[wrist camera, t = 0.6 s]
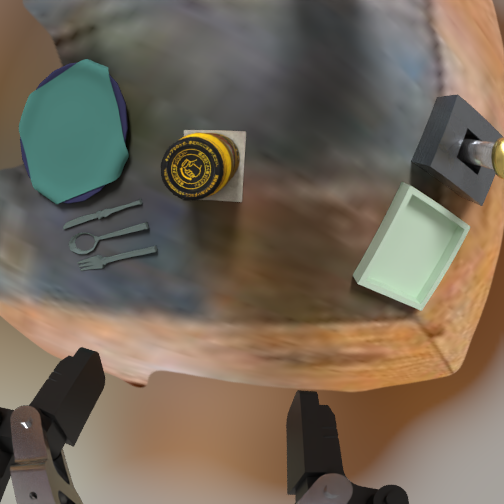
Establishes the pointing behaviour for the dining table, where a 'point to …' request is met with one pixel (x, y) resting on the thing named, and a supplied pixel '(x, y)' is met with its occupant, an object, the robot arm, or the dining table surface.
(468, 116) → the socket block
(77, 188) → the cutlery set
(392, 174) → the dining table surface
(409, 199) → the tray
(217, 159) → the condiment
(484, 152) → the pin
